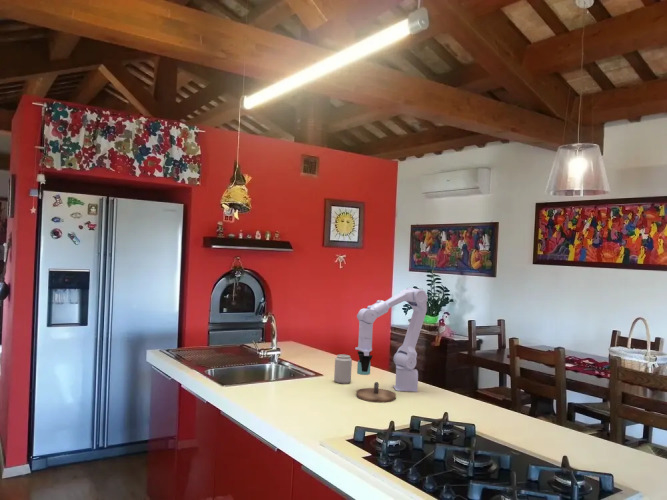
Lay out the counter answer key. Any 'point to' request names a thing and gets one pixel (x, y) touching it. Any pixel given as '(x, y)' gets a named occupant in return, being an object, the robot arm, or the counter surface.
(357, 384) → the counter surface
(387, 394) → the stand
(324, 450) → the counter surface
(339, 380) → the can
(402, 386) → the robot arm
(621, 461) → the counter surface
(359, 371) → the collar
